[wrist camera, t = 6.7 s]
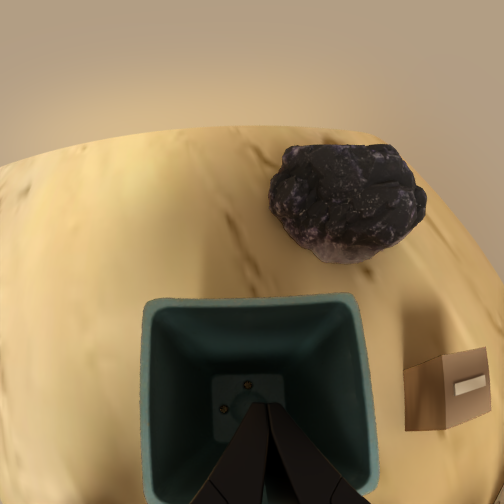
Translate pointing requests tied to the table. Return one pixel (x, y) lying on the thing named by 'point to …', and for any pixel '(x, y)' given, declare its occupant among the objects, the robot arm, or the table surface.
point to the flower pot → (263, 384)
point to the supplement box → (500, 497)
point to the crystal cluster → (346, 199)
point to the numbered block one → (447, 391)
